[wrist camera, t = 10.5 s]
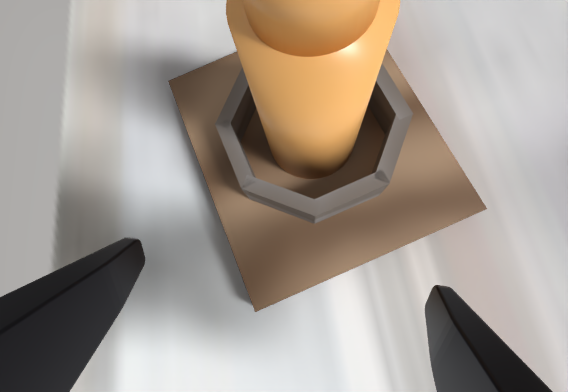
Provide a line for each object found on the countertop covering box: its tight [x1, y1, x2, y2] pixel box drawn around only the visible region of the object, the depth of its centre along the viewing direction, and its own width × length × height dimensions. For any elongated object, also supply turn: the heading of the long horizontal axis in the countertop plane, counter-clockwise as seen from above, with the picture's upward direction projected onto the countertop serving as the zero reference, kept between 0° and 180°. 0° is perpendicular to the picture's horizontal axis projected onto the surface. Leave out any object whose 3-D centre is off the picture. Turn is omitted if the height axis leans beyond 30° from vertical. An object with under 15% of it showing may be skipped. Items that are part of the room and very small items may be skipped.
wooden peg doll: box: [226, 0, 400, 179], centre depth 13 cm, size 5×5×13 cm
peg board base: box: [168, 49, 487, 312], centre depth 18 cm, size 16×14×4 cm
